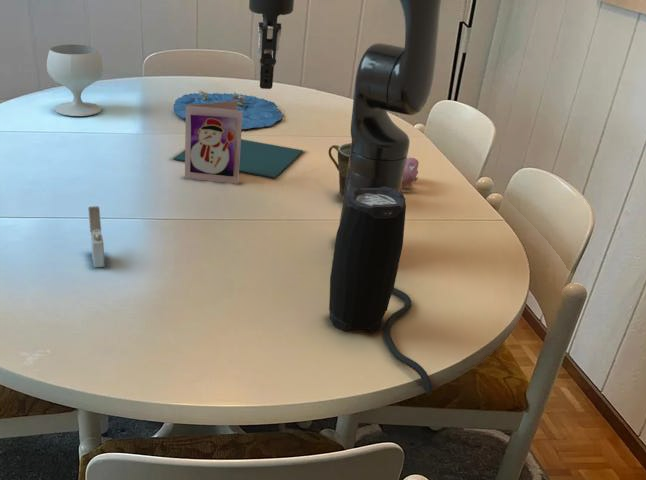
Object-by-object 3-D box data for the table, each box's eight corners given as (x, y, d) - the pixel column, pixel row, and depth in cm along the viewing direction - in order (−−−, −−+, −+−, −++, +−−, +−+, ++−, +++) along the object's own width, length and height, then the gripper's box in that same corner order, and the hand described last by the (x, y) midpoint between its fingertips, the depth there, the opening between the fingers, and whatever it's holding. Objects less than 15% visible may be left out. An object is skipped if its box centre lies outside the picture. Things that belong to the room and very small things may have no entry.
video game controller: (402, 201, 149) (424, 173, 145) (384, 189, 149) (405, 161, 145) (402, 184, 157) (422, 158, 153) (385, 173, 157) (405, 146, 153)
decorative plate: (303, 116, 196) (306, 96, 193) (247, 141, 174) (249, 120, 171) (213, 92, 208) (215, 73, 205) (150, 113, 186) (151, 92, 183)
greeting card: (183, 179, 149) (184, 106, 141) (191, 167, 156) (192, 96, 147) (237, 185, 148) (241, 111, 140) (242, 173, 154) (247, 101, 146)
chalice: (100, 119, 181) (97, 57, 172) (45, 117, 181) (39, 54, 172) (108, 104, 192) (106, 45, 184) (56, 102, 192) (51, 42, 184)
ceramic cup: (390, 200, 145) (399, 151, 140) (362, 213, 139) (370, 163, 133) (338, 182, 152) (344, 135, 147) (309, 194, 146) (315, 145, 140)
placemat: (274, 179, 152) (274, 177, 152) (173, 159, 159) (173, 157, 159) (303, 152, 167) (303, 150, 167) (209, 135, 175) (209, 133, 174)
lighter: (104, 266, 116) (102, 221, 112) (94, 267, 116) (91, 221, 111) (101, 247, 122) (98, 203, 117) (90, 248, 121) (87, 203, 117)
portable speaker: (312, 317, 106) (329, 192, 95) (355, 299, 111) (375, 178, 100) (356, 343, 101) (378, 213, 89) (398, 323, 106) (425, 198, 94)
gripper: (251, -27, 125) (246, 71, 134) (249, -15, 113) (244, 91, 122) (294, -24, 124) (285, 73, 134) (297, -12, 113) (287, 93, 122)
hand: (265, 82), depth 128 cm, fingers open, 8 cm apart
